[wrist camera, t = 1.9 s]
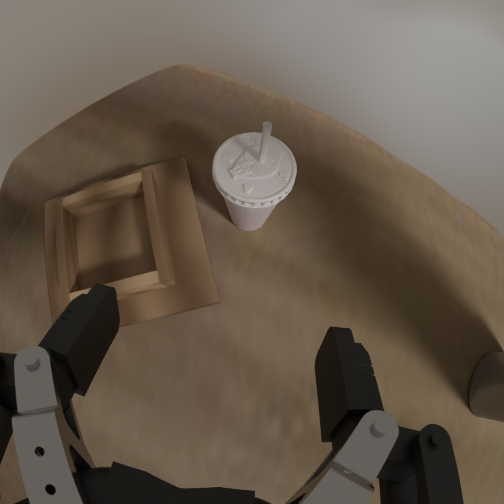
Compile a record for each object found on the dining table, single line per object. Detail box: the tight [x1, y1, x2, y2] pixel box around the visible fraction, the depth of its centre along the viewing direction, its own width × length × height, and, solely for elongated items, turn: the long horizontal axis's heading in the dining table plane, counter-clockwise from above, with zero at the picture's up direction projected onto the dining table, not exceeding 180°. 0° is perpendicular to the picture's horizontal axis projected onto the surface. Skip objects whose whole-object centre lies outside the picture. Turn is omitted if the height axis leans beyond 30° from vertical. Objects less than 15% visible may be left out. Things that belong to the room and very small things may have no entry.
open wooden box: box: [45, 156, 221, 327], centre depth 27 cm, size 18×16×4 cm
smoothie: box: [212, 122, 297, 231], centre depth 24 cm, size 6×6×14 cm
